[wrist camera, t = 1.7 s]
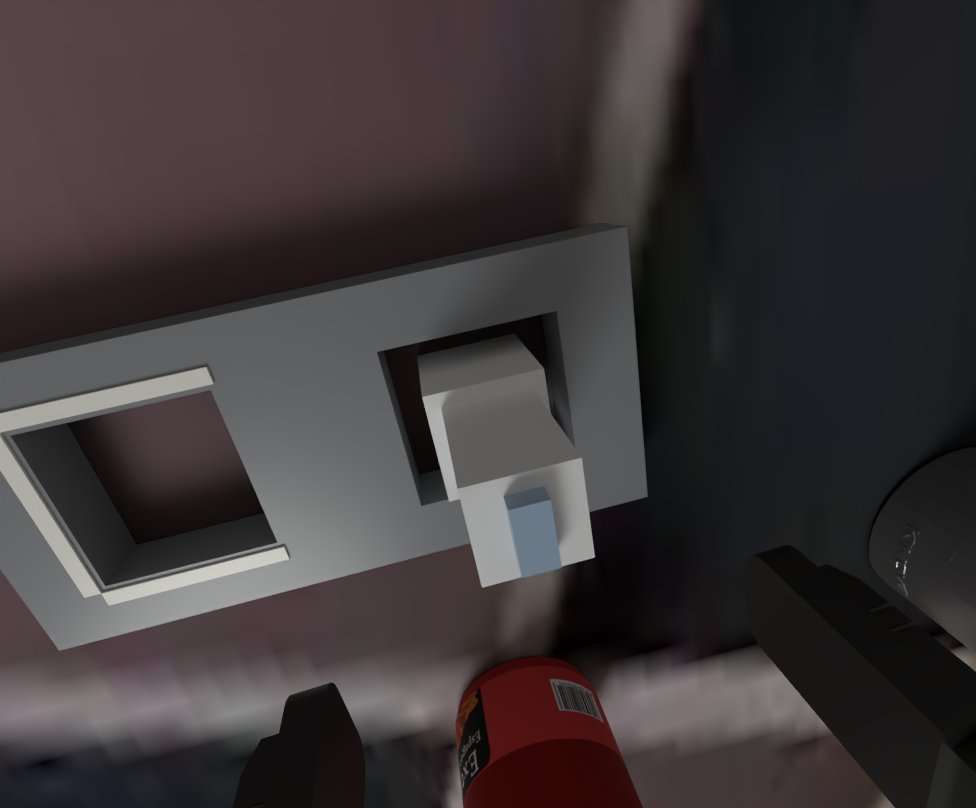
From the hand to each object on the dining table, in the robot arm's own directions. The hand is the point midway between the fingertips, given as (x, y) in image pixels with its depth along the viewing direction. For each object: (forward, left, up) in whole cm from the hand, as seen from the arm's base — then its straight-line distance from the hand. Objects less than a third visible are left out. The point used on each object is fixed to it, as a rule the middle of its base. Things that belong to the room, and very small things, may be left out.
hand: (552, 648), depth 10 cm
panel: (+6, 0, -13) cm, 14 cm away
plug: (0, 0, -13) cm, 13 cm away
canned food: (+1, +19, -13) cm, 23 cm away
